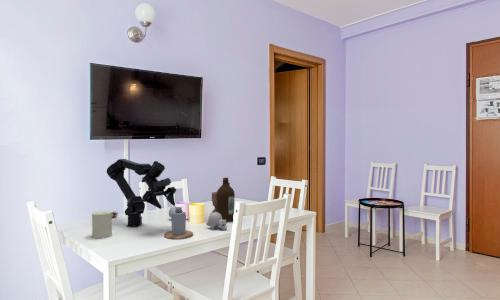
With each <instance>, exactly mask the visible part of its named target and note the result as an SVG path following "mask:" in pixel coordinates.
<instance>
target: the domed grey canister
mask: <svg viewBox="0 0 500 300" xmlns="http://www.w3.org/2000/svg"><path fill="white" fill-rule="evenodd" d="M182 208H183V207H182V206H178V207H176V212H172V218H171V231H172V235H175V236H180V235H184V234H186V229H187V228H186V224H187V223H186V220H187V219H186V216H187V214H186V212H185V211H184V210H183V209H182ZM182 210H183V211H184V212H183V211H182Z"/></svg>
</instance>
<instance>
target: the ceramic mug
mask: <svg viewBox="0 0 500 300" xmlns="http://www.w3.org/2000/svg"><path fill="white" fill-rule="evenodd" d="M176 206H177V205H175V206H173V205H172V206H171V207H170V208H169V211H168V217H169V218H171V219H172V212H176Z"/></svg>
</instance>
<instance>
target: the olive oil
mask: <svg viewBox="0 0 500 300" xmlns="http://www.w3.org/2000/svg"><path fill="white" fill-rule="evenodd" d="M228 182H229V183H230V181H229V177H222V184H221V185H220V186H219V188H218V189H217V191H216V192H217V194H216V197H217V212H218V213H220V214H221V216H222V220H226V223H231V222H233V221H234V219H233V215H234V213H235V198H236V197H235V196H236V194H235V191H234V189H233V188H232V187H231V184H230V185H229V184H228ZM234 216H235V215H234Z"/></svg>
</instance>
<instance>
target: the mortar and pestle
mask: <svg viewBox="0 0 500 300" xmlns="http://www.w3.org/2000/svg"><path fill="white" fill-rule="evenodd" d="M228 184H229V185H230V186H231V184H230V181H229V182H228ZM216 194H217V191H213V192H211V202H212V206H213V207H214V209H212V211H211V213H213V212H217V197H216Z"/></svg>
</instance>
